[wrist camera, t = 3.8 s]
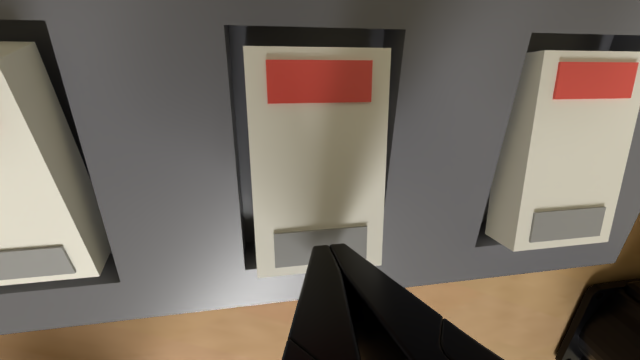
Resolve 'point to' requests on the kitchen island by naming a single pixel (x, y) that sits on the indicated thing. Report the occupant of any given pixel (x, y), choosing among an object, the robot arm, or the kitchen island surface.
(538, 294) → the kitchen island surface
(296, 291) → the rocker switch panel
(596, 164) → the rocker right
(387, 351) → the robot arm
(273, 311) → the kitchen island surface
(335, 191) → the rocker middle
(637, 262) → the kitchen island surface
